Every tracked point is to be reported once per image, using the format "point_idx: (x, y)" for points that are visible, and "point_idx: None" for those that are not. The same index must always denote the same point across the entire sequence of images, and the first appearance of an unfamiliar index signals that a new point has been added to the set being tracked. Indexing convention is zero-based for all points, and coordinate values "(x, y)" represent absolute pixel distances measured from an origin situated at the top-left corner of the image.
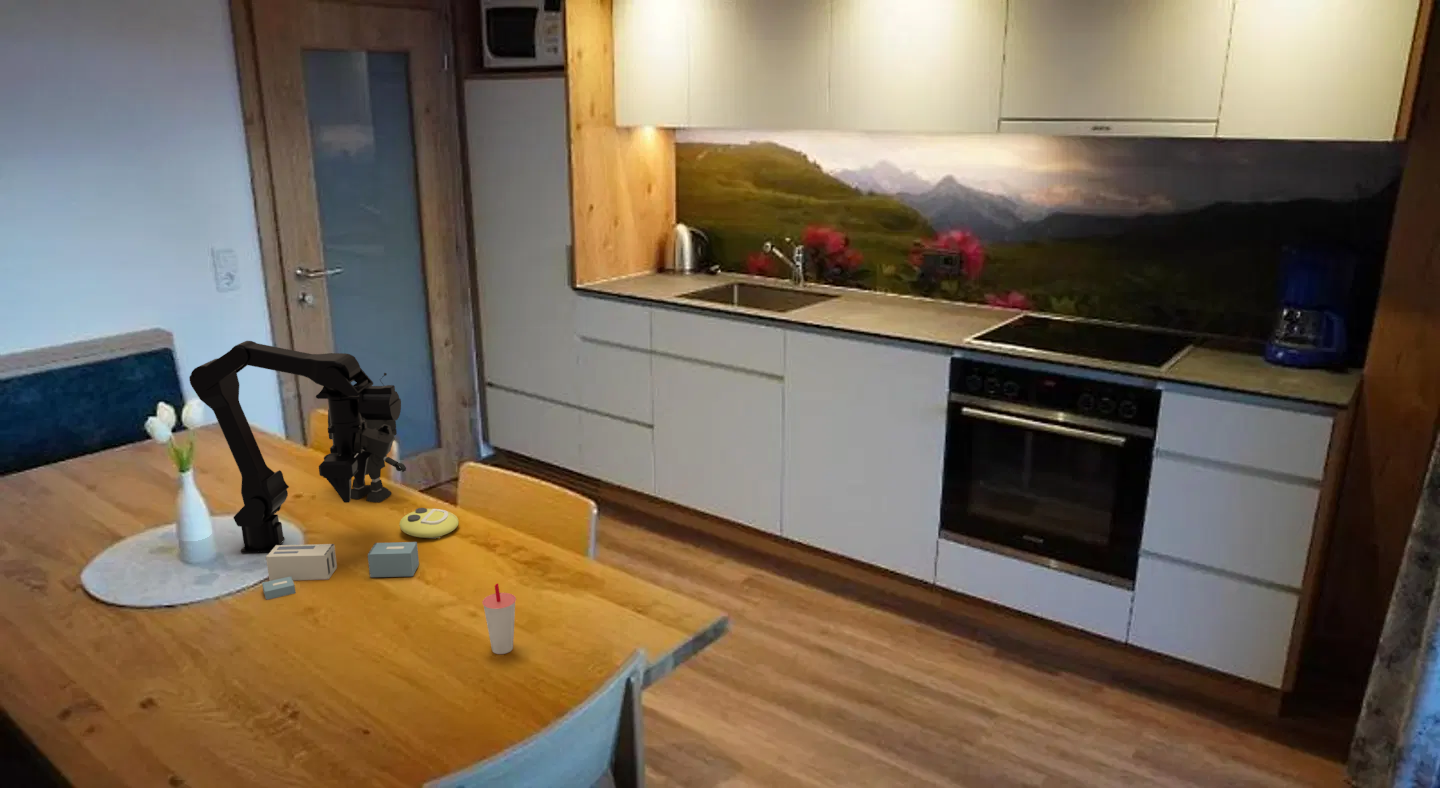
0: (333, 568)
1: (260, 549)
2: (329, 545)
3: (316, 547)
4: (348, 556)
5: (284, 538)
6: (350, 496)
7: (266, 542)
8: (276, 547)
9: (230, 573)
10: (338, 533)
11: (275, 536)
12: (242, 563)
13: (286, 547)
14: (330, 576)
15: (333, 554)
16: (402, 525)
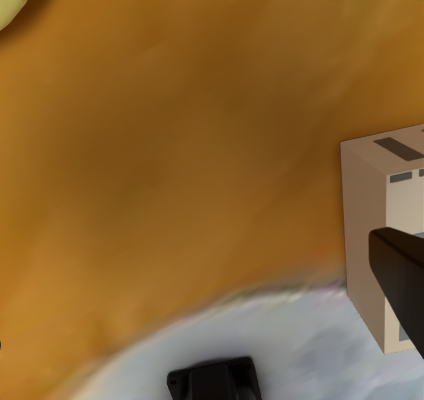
0: (381, 138)
1: (253, 386)
2: (400, 187)
3: (416, 226)
4: (251, 148)
5: (171, 375)
6: (406, 247)
7: (246, 393)
8: (401, 345)
9: (368, 374)
10: (87, 270)
11: (231, 393)
12: (314, 380)
13: None
14: (410, 127)
15: (390, 157)
16: (4, 2)
